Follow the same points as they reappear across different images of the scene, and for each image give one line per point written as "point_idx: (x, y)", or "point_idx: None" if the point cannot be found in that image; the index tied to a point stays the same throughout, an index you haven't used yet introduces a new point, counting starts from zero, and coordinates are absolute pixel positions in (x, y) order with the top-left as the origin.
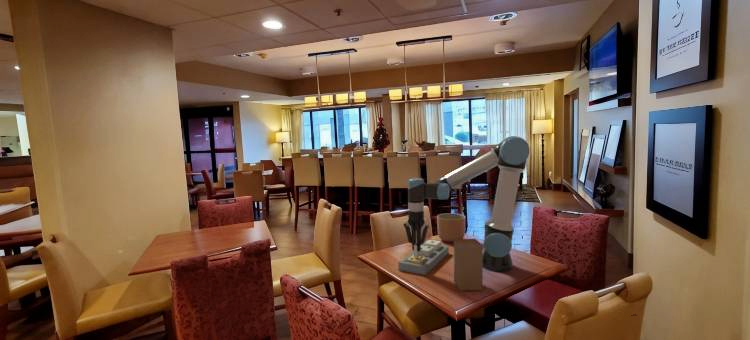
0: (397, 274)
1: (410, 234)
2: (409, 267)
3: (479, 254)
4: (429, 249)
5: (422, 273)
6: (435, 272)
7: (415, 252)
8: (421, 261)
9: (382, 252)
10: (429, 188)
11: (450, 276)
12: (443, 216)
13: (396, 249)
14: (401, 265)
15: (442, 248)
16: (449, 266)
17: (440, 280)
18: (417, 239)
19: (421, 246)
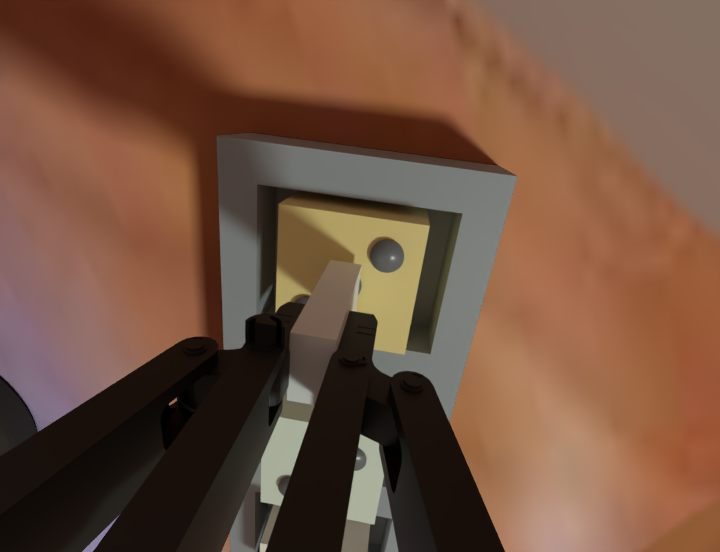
0: (486, 56)
1: (408, 540)
2: (388, 154)
3: None
4: (272, 450)
5: (269, 136)
6: (203, 216)
7: (334, 287)
8: (280, 231)
9: (704, 478)
10: None
11: (82, 177)
12: None
13: (594, 537)
14: (475, 166)
15: (251, 534)
16: (164, 344)
17: (106, 68)
18: (239, 399)
19: (363, 501)
